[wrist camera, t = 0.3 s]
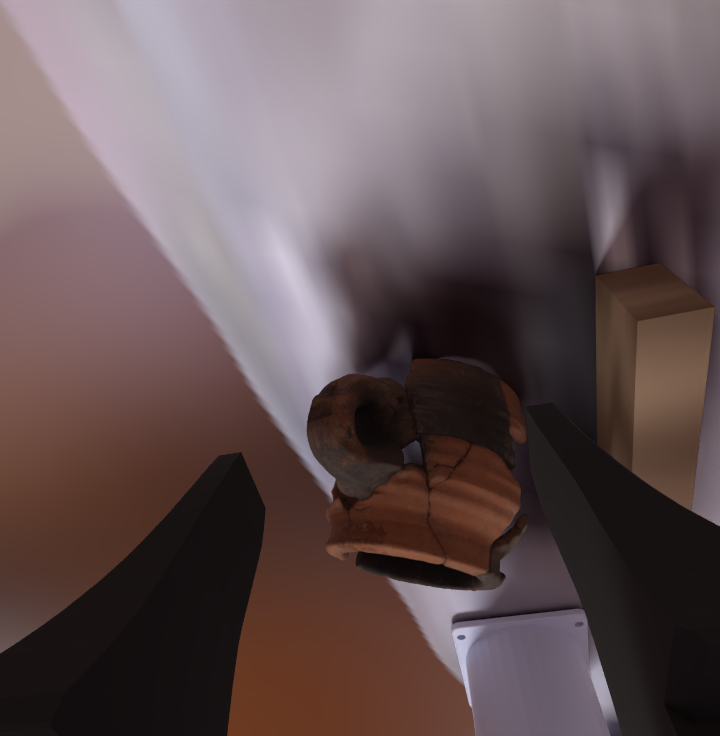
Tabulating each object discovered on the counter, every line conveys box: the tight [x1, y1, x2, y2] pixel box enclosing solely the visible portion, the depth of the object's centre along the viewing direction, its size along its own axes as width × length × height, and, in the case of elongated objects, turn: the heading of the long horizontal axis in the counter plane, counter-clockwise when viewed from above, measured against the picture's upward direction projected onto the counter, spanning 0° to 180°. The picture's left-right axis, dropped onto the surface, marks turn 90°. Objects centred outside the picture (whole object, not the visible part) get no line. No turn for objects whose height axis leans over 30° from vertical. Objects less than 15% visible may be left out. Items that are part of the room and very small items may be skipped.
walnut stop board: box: [596, 263, 715, 511], centre depth 22 cm, size 12×2×4 cm, turn 13°
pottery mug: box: [307, 358, 528, 591], centre depth 23 cm, size 12×10×8 cm
